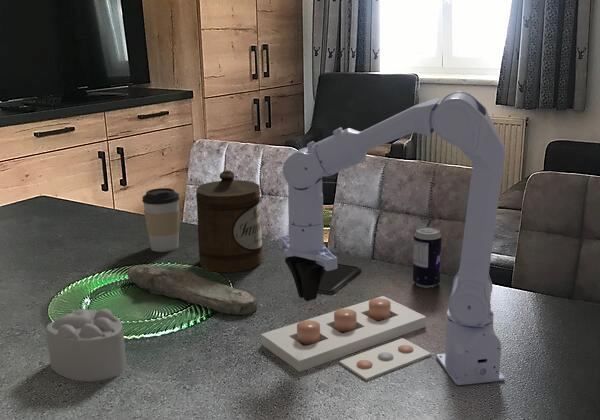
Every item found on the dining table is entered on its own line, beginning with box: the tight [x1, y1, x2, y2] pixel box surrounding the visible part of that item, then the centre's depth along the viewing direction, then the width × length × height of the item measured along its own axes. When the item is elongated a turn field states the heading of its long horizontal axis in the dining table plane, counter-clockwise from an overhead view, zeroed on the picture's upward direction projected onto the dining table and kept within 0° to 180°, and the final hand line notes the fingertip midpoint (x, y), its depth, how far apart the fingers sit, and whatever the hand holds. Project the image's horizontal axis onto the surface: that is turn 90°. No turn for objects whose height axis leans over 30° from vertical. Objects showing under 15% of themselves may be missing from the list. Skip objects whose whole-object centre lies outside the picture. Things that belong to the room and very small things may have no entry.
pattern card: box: [338, 337, 432, 382], centre depth 114 cm, size 14×7×1 cm, turn 124°
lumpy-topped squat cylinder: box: [45, 308, 127, 382], centre depth 114 cm, size 10×13×9 cm
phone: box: [318, 263, 362, 295], centre depth 149 cm, size 8×1×15 cm
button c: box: [297, 319, 320, 345], centre depth 118 cm, size 4×4×2 cm
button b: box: [334, 308, 357, 332], centre depth 122 cm, size 4×4×2 cm
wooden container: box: [195, 170, 263, 273], centre depth 158 cm, size 15×15×22 cm
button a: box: [369, 297, 391, 321], centre depth 126 cm, size 4×4×2 cm
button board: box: [260, 295, 427, 373], centre depth 123 cm, size 28×12×2 cm, turn 124°
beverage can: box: [412, 226, 442, 289], centre depth 143 cm, size 6×6×12 cm
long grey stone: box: [126, 264, 258, 316], centre depth 142 cm, size 35×5×10 cm
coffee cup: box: [141, 187, 180, 253], centre depth 170 cm, size 9×9×15 cm
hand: (307, 297), depth 116 cm, fingers closed
